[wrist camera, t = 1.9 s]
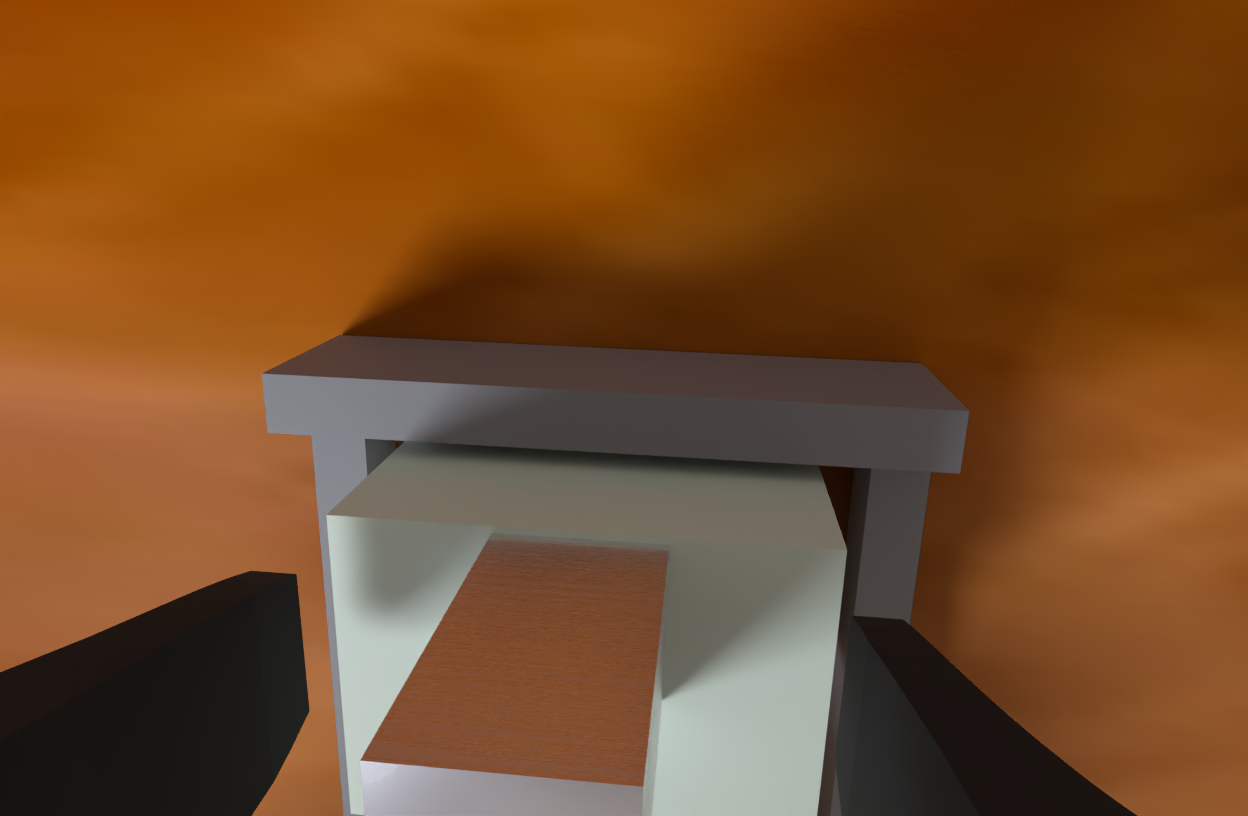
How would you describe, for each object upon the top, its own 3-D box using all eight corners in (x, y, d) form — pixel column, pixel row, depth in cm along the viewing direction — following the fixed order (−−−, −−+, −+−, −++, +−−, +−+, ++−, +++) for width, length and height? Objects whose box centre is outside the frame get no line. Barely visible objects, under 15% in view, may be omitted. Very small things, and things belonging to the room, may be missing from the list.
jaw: (447, 637, 18) (174, 1136, 9) (438, 409, 16) (101, 725, 7) (784, 663, 17) (864, 1228, 8) (806, 429, 16) (932, 803, 7)
